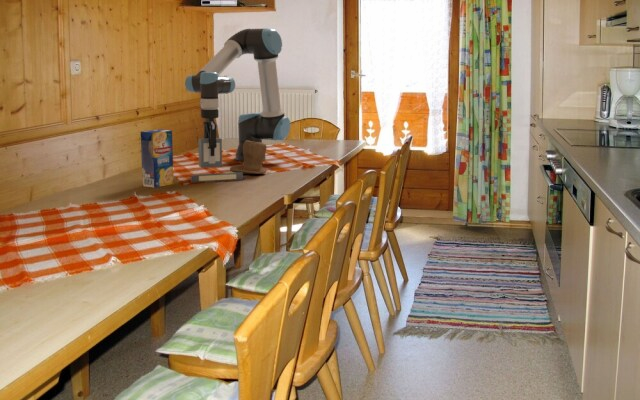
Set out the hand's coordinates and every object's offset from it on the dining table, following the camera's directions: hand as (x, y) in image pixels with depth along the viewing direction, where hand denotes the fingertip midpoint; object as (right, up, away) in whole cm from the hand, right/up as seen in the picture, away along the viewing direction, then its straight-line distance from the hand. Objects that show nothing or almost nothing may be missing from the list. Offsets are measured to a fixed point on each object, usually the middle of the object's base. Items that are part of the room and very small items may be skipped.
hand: (210, 162), depth 336 cm
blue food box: (-19, -10, -19) cm, 29 cm away
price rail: (+4, -8, -9) cm, 13 cm away
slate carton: (0, -2, 0) cm, 2 cm away
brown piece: (+16, -5, +10) cm, 20 cm away
